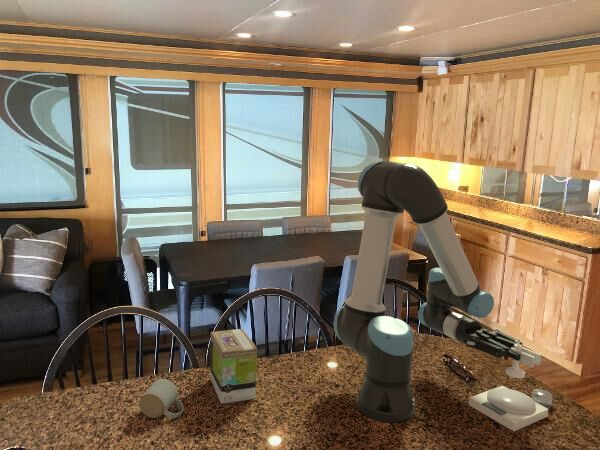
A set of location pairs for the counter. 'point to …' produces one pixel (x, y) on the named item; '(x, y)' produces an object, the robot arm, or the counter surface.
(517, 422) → the scale
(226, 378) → the tea box
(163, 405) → the ceramic mug
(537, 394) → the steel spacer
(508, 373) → the chess piece
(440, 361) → the counter surface
